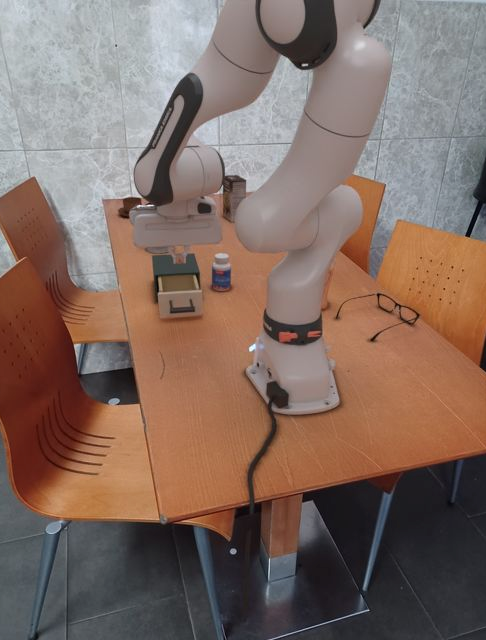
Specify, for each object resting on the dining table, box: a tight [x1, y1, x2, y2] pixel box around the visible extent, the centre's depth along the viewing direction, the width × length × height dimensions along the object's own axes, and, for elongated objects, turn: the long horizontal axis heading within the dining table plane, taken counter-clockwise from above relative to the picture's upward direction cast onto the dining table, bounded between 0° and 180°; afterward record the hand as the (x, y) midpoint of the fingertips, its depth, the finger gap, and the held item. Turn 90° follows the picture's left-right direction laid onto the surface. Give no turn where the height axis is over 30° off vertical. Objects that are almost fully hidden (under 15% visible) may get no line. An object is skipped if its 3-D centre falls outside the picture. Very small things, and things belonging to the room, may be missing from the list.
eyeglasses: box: [335, 292, 421, 341], centre depth 128 cm, size 16×16×4 cm
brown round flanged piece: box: [117, 196, 143, 218], centre depth 202 cm, size 12×12×6 cm
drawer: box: [157, 274, 204, 319], centre depth 129 cm, size 19×11×7 cm, turn 11°
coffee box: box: [222, 174, 247, 223], centre depth 198 cm, size 9×6×16 cm
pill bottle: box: [211, 252, 232, 292], centre depth 142 cm, size 6×5×10 cm
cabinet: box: [151, 252, 201, 303], centre depth 141 cm, size 14×12×8 cm
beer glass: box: [321, 260, 335, 310], centre depth 133 cm, size 7×7×15 cm
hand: (179, 263), depth 117 cm, fingers closed
